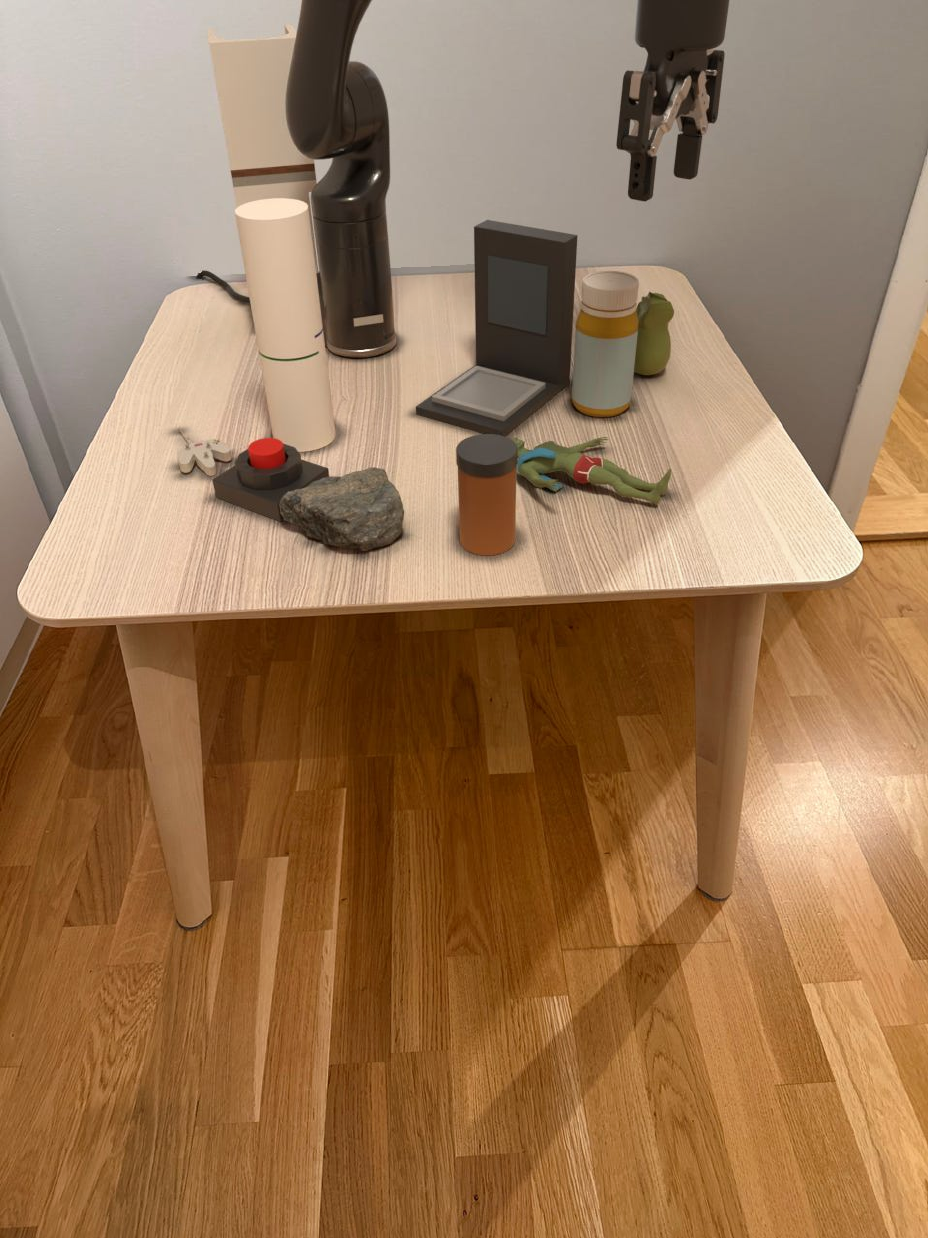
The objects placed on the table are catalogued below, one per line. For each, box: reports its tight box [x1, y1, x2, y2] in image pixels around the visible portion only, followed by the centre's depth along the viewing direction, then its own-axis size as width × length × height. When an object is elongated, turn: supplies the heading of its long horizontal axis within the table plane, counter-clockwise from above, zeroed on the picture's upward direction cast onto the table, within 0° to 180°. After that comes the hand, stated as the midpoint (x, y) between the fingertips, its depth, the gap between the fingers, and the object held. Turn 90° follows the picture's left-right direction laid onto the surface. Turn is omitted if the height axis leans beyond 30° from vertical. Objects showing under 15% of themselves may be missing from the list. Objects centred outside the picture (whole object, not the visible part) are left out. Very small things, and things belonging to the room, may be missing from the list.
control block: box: [211, 444, 330, 522], centre depth 97 cm, size 9×8×4 cm
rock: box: [279, 466, 405, 552], centre depth 91 cm, size 12×10×5 cm
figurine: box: [508, 436, 672, 506], centre depth 97 cm, size 16×4×18 cm
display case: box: [206, 24, 319, 273], centre depth 126 cm, size 11×11×35 cm
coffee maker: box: [415, 219, 578, 437], centre depth 108 cm, size 16×12×18 cm
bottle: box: [571, 270, 640, 418], centre depth 107 cm, size 7×7×15 cm
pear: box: [634, 291, 675, 376], centre depth 115 cm, size 6×5×10 cm
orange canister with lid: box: [455, 433, 518, 556], centre depth 88 cm, size 7×6×10 cm
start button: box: [247, 437, 286, 469], centre depth 96 cm, size 4×4×2 cm
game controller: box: [176, 428, 232, 477], centre depth 104 cm, size 6×12×3 cm, turn 49°
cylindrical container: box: [234, 198, 336, 453], centre depth 100 cm, size 7×7×25 cm
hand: (662, 188), depth 87 cm, fingers open, 8 cm apart
